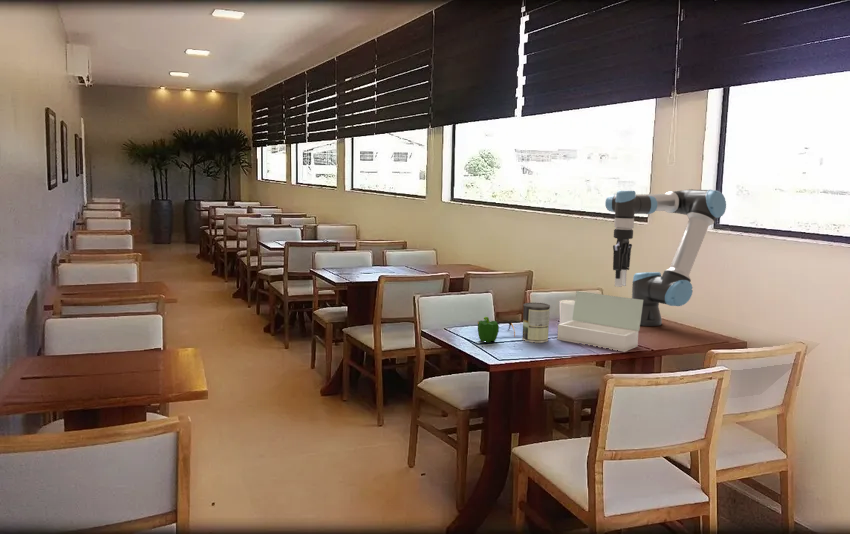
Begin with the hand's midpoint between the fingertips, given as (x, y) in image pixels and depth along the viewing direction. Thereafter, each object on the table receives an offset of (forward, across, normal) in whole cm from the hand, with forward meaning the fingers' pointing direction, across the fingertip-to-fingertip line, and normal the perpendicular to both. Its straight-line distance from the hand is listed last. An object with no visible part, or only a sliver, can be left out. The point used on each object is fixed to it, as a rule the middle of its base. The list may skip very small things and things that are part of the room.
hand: (620, 285), depth 280 cm
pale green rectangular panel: (+9, +12, 0) cm, 15 cm away
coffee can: (+21, +32, -20) cm, 43 cm away
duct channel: (+21, +19, 0) cm, 28 cm away
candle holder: (+21, +5, -19) cm, 29 cm away
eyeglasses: (+21, +33, -38) cm, 55 cm away
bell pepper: (+21, +48, -32) cm, 61 cm away
